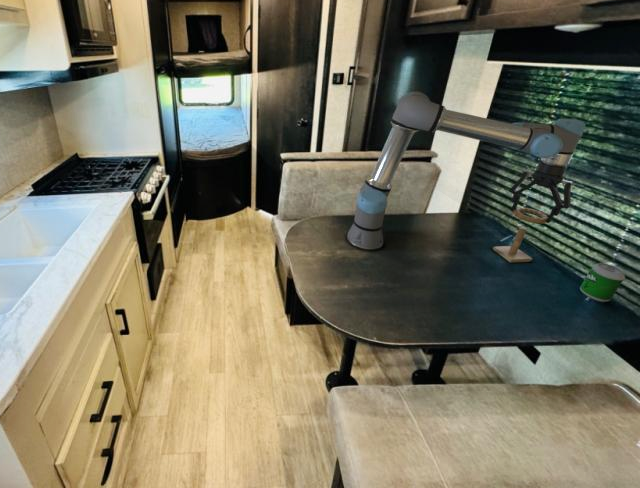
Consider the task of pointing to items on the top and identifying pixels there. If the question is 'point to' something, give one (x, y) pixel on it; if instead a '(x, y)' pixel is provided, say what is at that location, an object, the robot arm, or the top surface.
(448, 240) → the top surface
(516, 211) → the ring
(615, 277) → the soda can
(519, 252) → the rack
